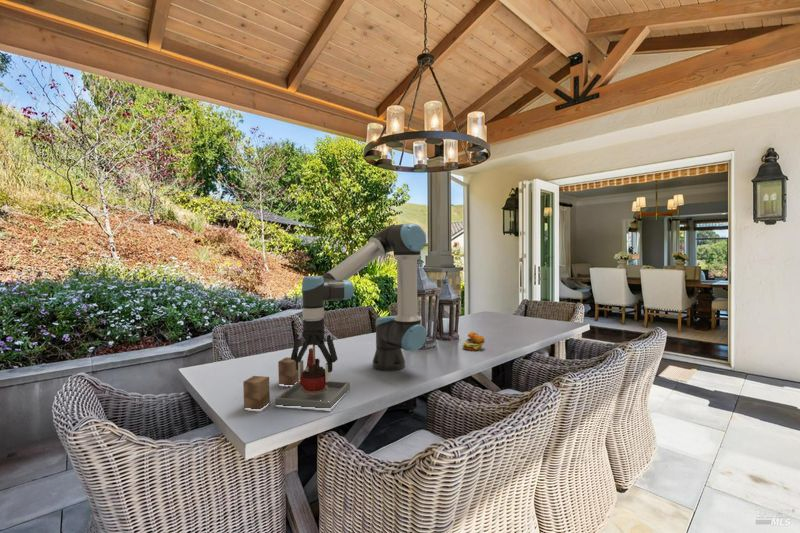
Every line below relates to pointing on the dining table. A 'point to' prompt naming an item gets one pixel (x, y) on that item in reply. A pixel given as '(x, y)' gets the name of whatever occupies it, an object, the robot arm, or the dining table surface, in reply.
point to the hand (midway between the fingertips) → (314, 379)
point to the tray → (313, 396)
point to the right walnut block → (287, 371)
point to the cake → (313, 375)
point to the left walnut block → (256, 392)
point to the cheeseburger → (473, 342)
